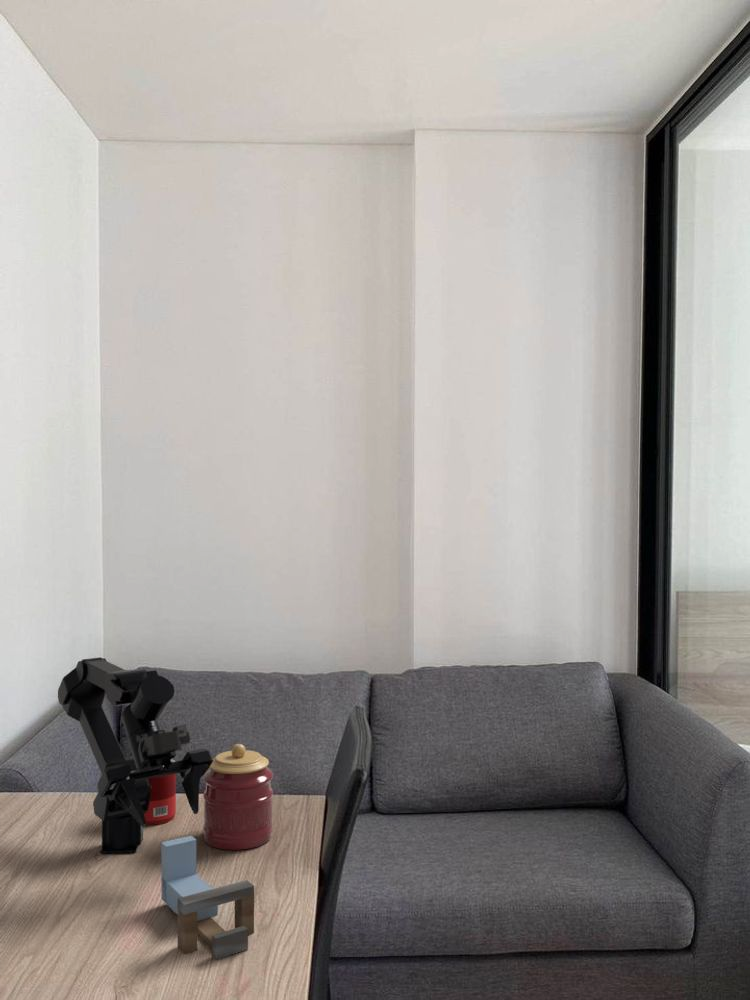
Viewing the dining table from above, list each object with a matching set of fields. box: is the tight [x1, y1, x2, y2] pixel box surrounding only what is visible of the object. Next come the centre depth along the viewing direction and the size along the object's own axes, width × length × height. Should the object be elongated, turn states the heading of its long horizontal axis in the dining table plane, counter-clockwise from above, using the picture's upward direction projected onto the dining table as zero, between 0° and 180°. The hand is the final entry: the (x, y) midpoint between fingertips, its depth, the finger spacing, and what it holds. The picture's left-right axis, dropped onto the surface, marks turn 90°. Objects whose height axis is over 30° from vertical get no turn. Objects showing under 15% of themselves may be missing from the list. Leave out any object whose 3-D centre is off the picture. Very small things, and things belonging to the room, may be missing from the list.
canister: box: [202, 743, 274, 851], centre depth 173 cm, size 13×13×18 cm
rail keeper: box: [177, 879, 255, 960], centre depth 138 cm, size 18×11×7 cm, turn 34°
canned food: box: [144, 758, 177, 826], centre depth 183 cm, size 8×8×11 cm
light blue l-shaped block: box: [161, 835, 219, 921], centre depth 143 cm, size 10×5×9 cm, turn 34°
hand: (170, 818), depth 152 cm, fingers open, 9 cm apart
